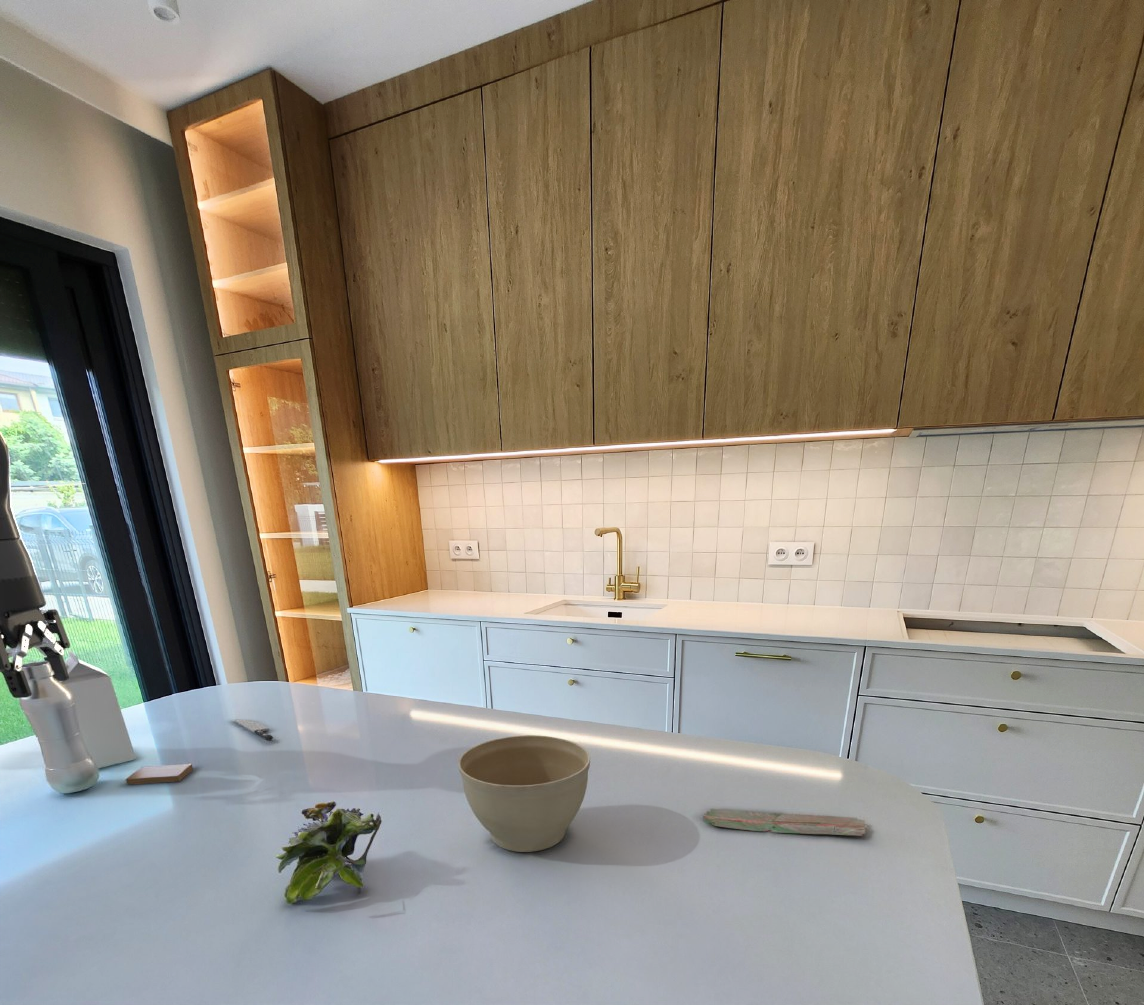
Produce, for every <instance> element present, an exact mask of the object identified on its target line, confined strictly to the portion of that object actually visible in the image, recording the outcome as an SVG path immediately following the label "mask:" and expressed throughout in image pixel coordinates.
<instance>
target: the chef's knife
mask: <svg viewBox="0 0 1144 1005" xmlns="http://www.w3.org/2000/svg"><path fill="white" fill-rule="evenodd" d="M232 721H233V722H235V723H236V724H238V725H240V726H241V727H243V728H245V729H247V730H248V731H250V732H252V733H253V734H255V735H257V736H258V737H261V738H262V739H264V740H266V741H268V742H271V741H273V739H274V736H273V735H271V734H267V733H265V732H266V731H268V730H270V728H269V727H267V726H266V725H263V724H261V723H259V722H256V721H254V720H253V721H252V720H247V719H246V720H245V719H236V718H235V719H232Z"/></svg>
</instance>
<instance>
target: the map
mask: <svg viewBox="0 0 1144 1005" xmlns="http://www.w3.org/2000/svg"><path fill="white" fill-rule="evenodd" d="M700 816H701V817H702V818H703V819H705V821H707V823H708V824H710V825H711V826H713V827H720V828H726V829H736V830H744V831H754V832H763V833H764V832H769V831H770V832H771V833H774V834H775V833H778V834H779V833H781V834H801V835H802V834H803V835H805V834H806V835H835V836H836V835H838V836H861V837H862V836H863V835H864V834H866V829H867V828H868V824H867V823H866V820H865V819H858V818H857V817H849V816H847V817H846V816H835V815H834V816H833V815H820V814H819V815H818V814H817V815H816V814H800V813H799V814H798V813H795V814H794V813H792V814H791V813H779V812H778V813H775V812H756V811H741V810H729V809H718V808H710V810H709V811H706V813H703V814H701V815H700Z"/></svg>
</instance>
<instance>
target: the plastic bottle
mask: <svg viewBox="0 0 1144 1005" xmlns="http://www.w3.org/2000/svg"><path fill="white" fill-rule="evenodd" d="M21 671H24V673H25V676H26V679H27V681H28V684H29V687H30V690H31V692H32V695H31V696H29V697H26V698H18V699H19V706H20V708H21V710H22V711H23V714H24V716H25V717H26V719H27V721H28V723H29V724H30V726H31V728H32V730H33V733H34V735H35V738H37V742H38V744H39V748H40V751H41V755H42V758H43V759H42V760H43V763H44V773H45V778H46V782H47V784H48V785H49V787H50V788H51V789H52V790H53V791H55V792H57V793H58V794H72V793H75V792H81V791H84V790H87V789H89V788H91V787H93V786H95V785H96V784H97V783H98V781H99V779H100V770H99V769H98V767H97V765H96V763H95V761H94V759H93V758H92V756H91V755H90V753H89V751H88V748H87V746H86V744H85V742H84V739H83V737H82V734H81V730H80V729H79V728H80V726H79V723H78V719H77V713H76V706H75V702H74V701H75V700H74V696H73V693H72V692H71V691H70V689H69V688H68V687H66V686H65V685H64V684H62V683H61V682H59V681H58V680H56V679H55V678H54V677H53V675H54V671H53V670H52V668H51V665H50V663H49V662H48V661H45V660H42V661H41V660H39V661H33V662H26V663H22V669H21Z"/></svg>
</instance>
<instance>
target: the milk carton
mask: <svg viewBox="0 0 1144 1005" xmlns="http://www.w3.org/2000/svg"><path fill="white" fill-rule="evenodd" d="M67 653H68V657H67V658H66V659H65V660H64V662H65V666H66V668H67V671H68V675H69V679H68V680H65V681H59V682H61V683H62V684H64V685H65V686H66V687H68V688H69V689H70V691H71V692H72V693H73V696H74V700H75V701H74V702H75V706H76V713H77V719H78V723H79V726H80V728H79V729H80V730H81V734H82V737H83V739H84V742H85V744H86V746H87V748H88V751H89V753H90V755H91V756H92V758H93V759H94V761H95V763H96V765H97V767H98V770H99V769H102V768H105V767H110V766H115V765H118V764H123V763H127V762H130V761H133V760H137V757H136V753H135V750H134V747H133V743H132V741H131V738H130V734H129V732H128V728H127V725H126V722H125V719H124V716H123V712H122V709H121V706H120V704H119V700H118V697H117V694H116V691H115V688H114V685H113V684H114V683H113V681H112V678H111V675H109V674H108V673H107V672H105V671H104V670H103V669H101V668H99V667H98V666H94V665H92V664H90V663H88V662H85V661H84V660H81V659H79V657H78V655H77V654H75V653H74V652H73V651H72V650H70V649H67Z"/></svg>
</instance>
